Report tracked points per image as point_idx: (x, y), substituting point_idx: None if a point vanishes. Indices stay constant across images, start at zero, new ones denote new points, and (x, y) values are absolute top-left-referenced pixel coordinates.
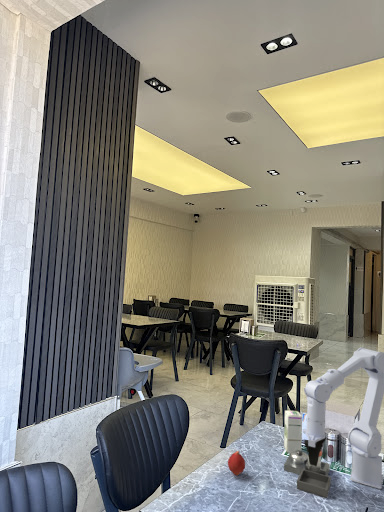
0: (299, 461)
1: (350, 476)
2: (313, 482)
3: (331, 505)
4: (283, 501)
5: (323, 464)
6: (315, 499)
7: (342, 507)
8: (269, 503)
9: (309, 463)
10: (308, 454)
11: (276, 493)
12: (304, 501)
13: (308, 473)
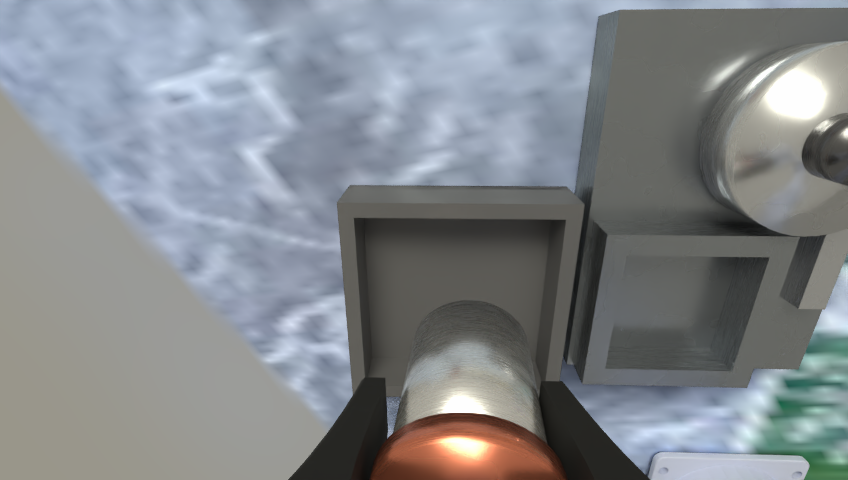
0: (712, 158)
1: (699, 457)
2: (491, 279)
3: (308, 385)
4: (129, 138)
5: (728, 351)
6: (307, 308)
7: (329, 428)
8: (23, 52)
9: (416, 357)
10: (307, 459)
11: (184, 63)
12: (237, 257)
13: (557, 249)
